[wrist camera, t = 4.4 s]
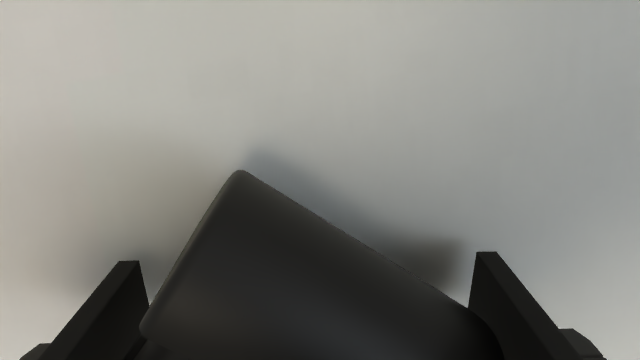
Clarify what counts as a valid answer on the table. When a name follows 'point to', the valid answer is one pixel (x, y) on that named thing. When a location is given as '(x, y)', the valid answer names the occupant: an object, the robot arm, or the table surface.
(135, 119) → the table surface
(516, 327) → the robot arm
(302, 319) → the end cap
